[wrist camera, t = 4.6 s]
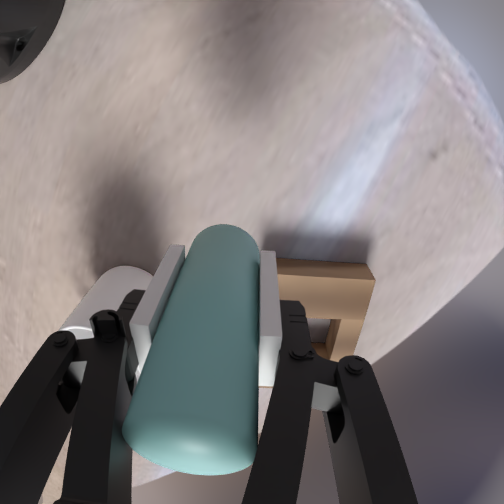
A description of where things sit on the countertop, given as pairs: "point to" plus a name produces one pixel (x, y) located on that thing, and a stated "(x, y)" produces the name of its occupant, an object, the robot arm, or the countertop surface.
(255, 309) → the peg
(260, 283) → the robot arm
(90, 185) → the countertop surface
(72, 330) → the cup
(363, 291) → the socket
